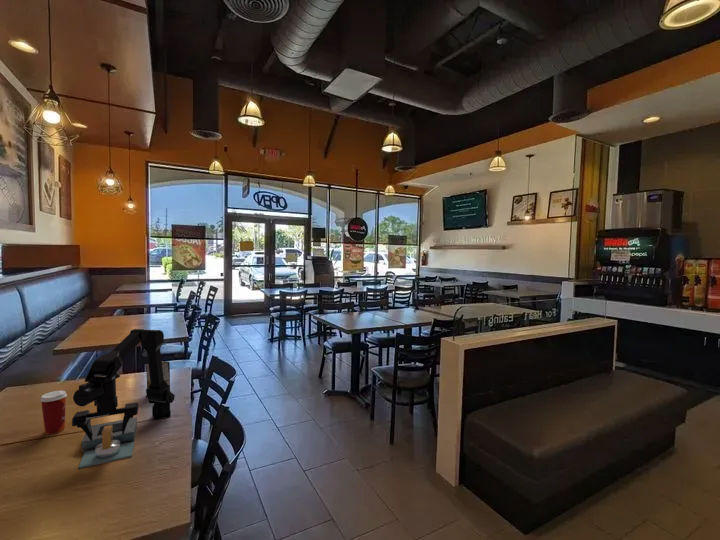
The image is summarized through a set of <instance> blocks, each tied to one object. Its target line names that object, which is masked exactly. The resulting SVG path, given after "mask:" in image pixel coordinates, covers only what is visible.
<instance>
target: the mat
mask: <svg viewBox="0 0 720 540" xmlns="http://www.w3.org/2000/svg"><path fill="white" fill-rule="evenodd" d="M134 446H135V441H134V442H130V443H125V444H120V452H119V453H118V454H117V455H115V456H113V457H111V458H107V459H97V458H96V453H95V450H91V451H86V452H83V455H82V458H81V461H80V462H79V465H78V469H83V468H88V467H91V466H97V465H100V464H101V465H102V464H105V463H109V462H114V461H115V462H116V461H119V460H123V459H128V458H132V457H133V451H134Z"/></svg>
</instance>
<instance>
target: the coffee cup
mask: <svg viewBox="0 0 720 540" xmlns="http://www.w3.org/2000/svg"><path fill="white" fill-rule="evenodd" d="M66 392H67V391H65V390H54V391H50V392H46V393H44V394H42V396H41V398H40V399H39V401H40V402H41V409H42V417H43V427H44V433H45V435H53V434H57V433H61V432H62V431H64V430H65V428H66V427H65V426H66V405H67V404H66V403H67V400H66V399H67V395H68V394H67V393H66Z"/></svg>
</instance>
